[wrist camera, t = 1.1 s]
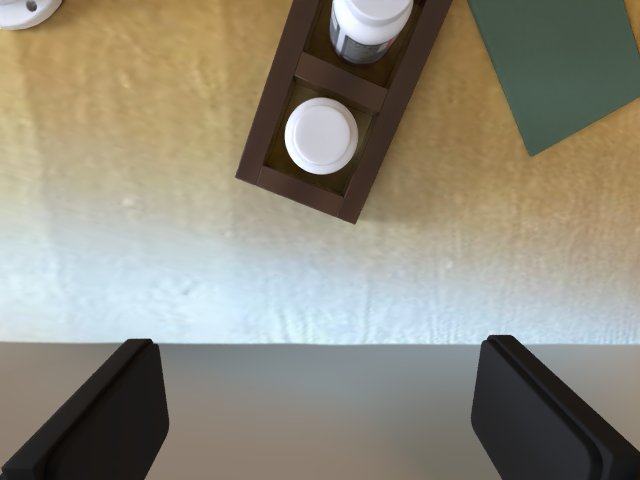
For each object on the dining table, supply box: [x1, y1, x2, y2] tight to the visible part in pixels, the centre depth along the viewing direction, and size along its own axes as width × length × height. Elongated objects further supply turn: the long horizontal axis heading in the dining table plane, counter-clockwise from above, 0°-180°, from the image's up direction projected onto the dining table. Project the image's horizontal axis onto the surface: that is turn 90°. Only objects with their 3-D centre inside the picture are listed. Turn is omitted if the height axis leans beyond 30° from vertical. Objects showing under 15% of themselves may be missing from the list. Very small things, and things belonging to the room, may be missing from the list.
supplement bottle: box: [285, 98, 358, 174], centre depth 27 cm, size 6×6×10 cm
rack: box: [235, 0, 453, 224], centre depth 30 cm, size 12×22×3 cm, turn 158°
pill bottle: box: [330, 0, 413, 67], centre depth 25 cm, size 6×6×10 cm
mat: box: [467, 0, 640, 156], centre depth 30 cm, size 20×12×1 cm, turn 30°
